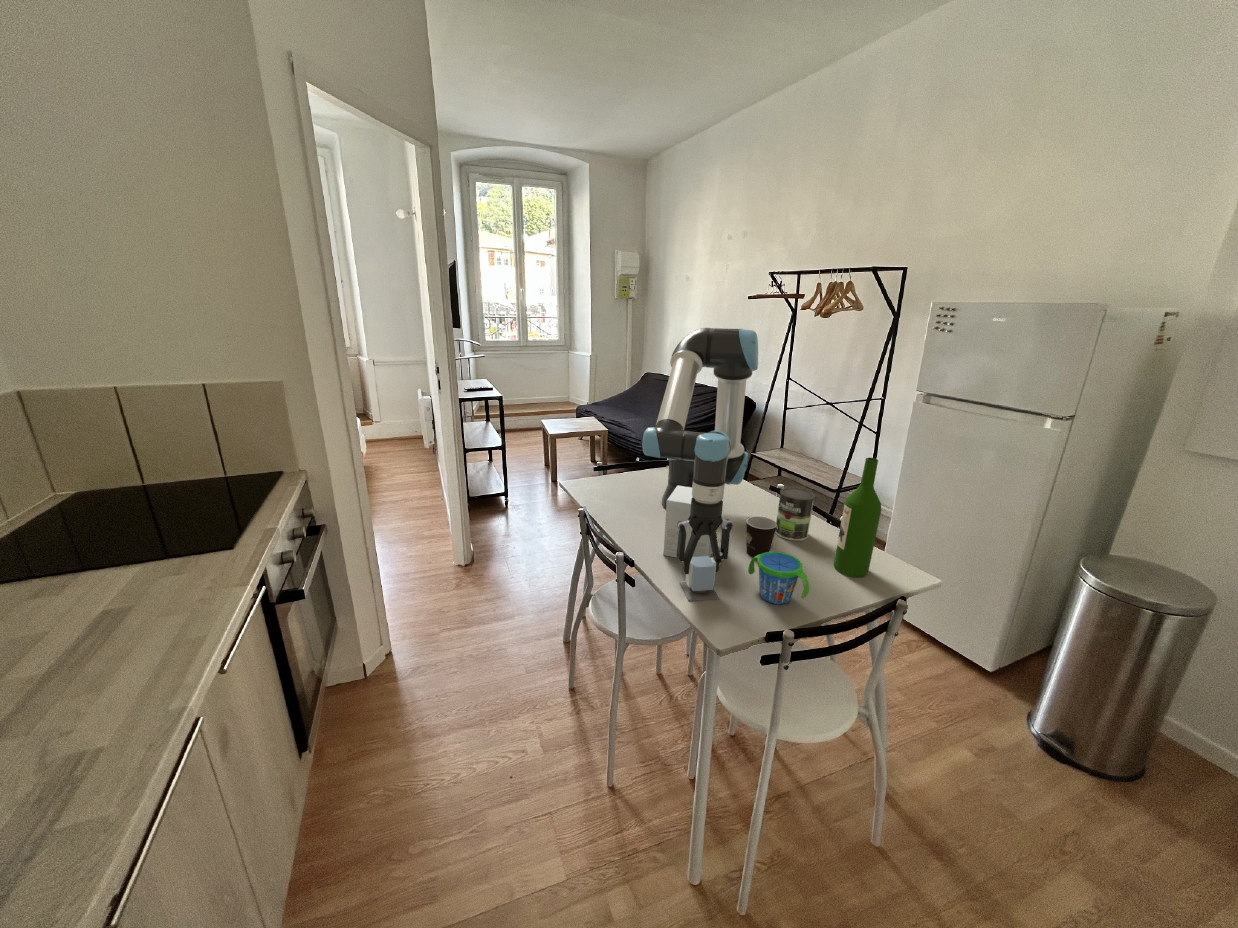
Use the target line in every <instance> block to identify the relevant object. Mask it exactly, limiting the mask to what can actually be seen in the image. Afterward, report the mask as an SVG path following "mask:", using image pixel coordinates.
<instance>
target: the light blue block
mask: <svg viewBox="0 0 1238 928" xmlns="http://www.w3.org/2000/svg"><path fill="white" fill-rule="evenodd" d="M710 558H711V557H710ZM710 558H709V556H701V557H692V559H691V561H692V563H693V574H692V586H691V588H692V590H693V591H702V590H713V588H714V586H715V582H714V575H715V576H716V572H715V565H714V564H713V562H712V561H711V559H710Z"/></svg>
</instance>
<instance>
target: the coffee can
mask: <svg viewBox="0 0 1238 928" xmlns="http://www.w3.org/2000/svg"><path fill="white" fill-rule="evenodd" d="M815 496H816V495H815V493H813V492H812V491H809V490H807V489H805V488H804V489H803V488H799V487H784V488H781V489H780V490H779V500H778V507H777V514H776V515H777V516H776V521H775V522H776V523H777V527H776V531H775V534H776V535H777V537H780V538H781V539H782V538H783V539H785V540H788V541H793V542H795V541H796V542H799V541H801V542H803V541H805V540H807V539H808V537H809V530H810V524H811V518H812V513H813V506H814V501H815Z"/></svg>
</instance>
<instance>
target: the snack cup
mask: <svg viewBox="0 0 1238 928" xmlns="http://www.w3.org/2000/svg"><path fill="white" fill-rule="evenodd" d="M751 558H752V559H751V560H750V562H749V564H748V568H747V572H748V575H753V574H754V573H755V571H756V570H755V569H756V568H755V561H757V567H758V579H759V580H758V582H759V583H758V584H759V593H760V596H761V599H763V600H765V601H766V602H769V603H772V604H774V605H783V604H788V603H789V602H791V599H792V597H793V594H794V590H795V588H796V585H797V583H798V580H799V578H800V579H801V580H802V585H803V591H802V593H801V596H800V598H801V599H804V598H806V597H807V596H808V594H809V591H810V582H809V579H808V576H807V574H806V572H805V571H804V570H803V563H802V562H801V560H799V558H797V557H795V556H794V555H791V554H788V553H785V552H780V551H770V552H766V553H763V554H759V555H757V556H755V557H754V558H753V557H751Z"/></svg>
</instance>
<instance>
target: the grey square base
mask: <svg viewBox="0 0 1238 928" xmlns="http://www.w3.org/2000/svg"><path fill="white" fill-rule="evenodd" d="M679 585H680V586H681V589H682V591H683V594H684V596H685V597H686V600H687V602H695V601H697V602H698V601H711V600H715V601H716V600H720V596H719V594H718V592H717V591H716V590H715V588H714V587H713V590H702V591H693V590H692V588H691V587H688V585H687V583H686V581H683V582H681V581H680V582H679Z"/></svg>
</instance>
